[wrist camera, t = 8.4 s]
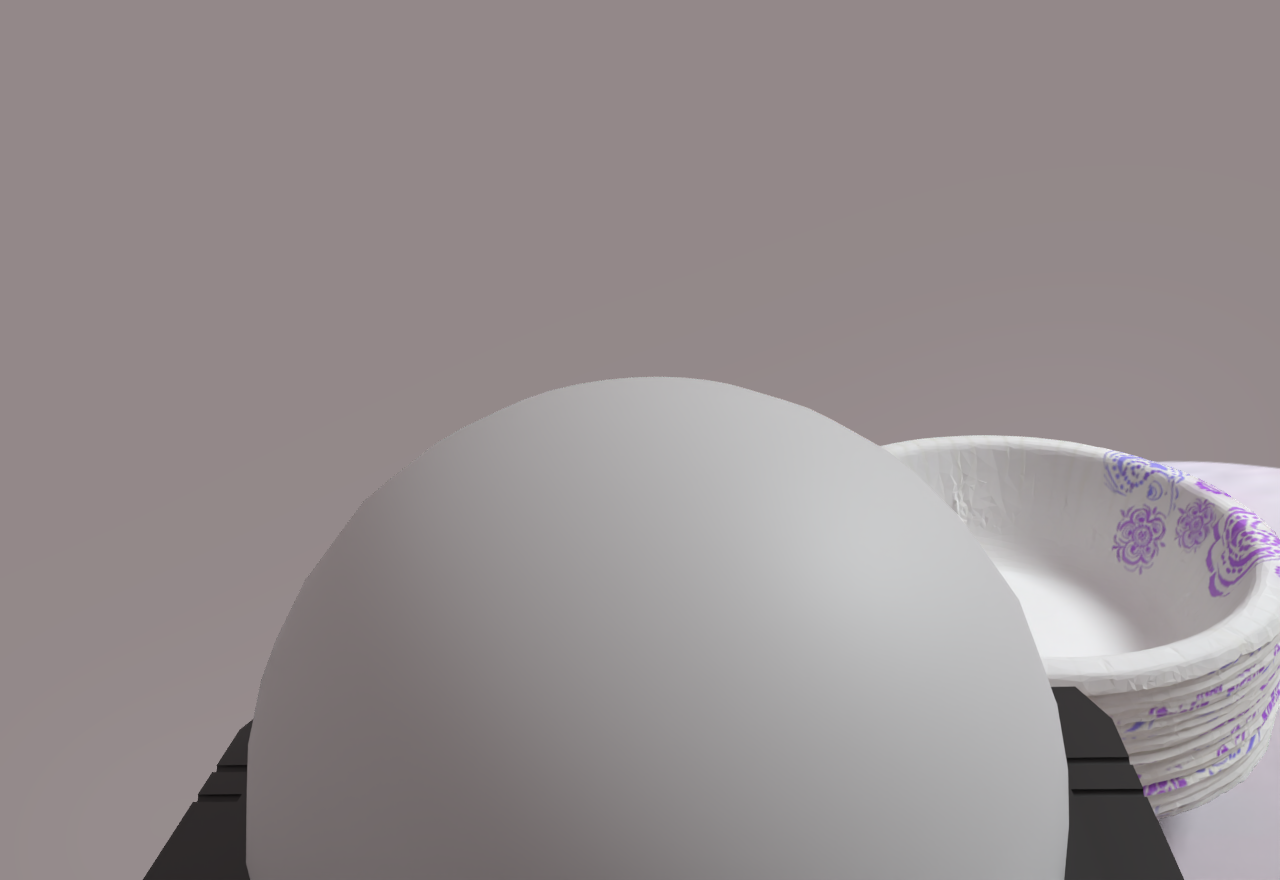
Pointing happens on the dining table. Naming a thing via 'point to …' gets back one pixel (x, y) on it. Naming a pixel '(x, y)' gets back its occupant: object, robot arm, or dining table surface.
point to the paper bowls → (1131, 596)
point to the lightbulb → (656, 663)
